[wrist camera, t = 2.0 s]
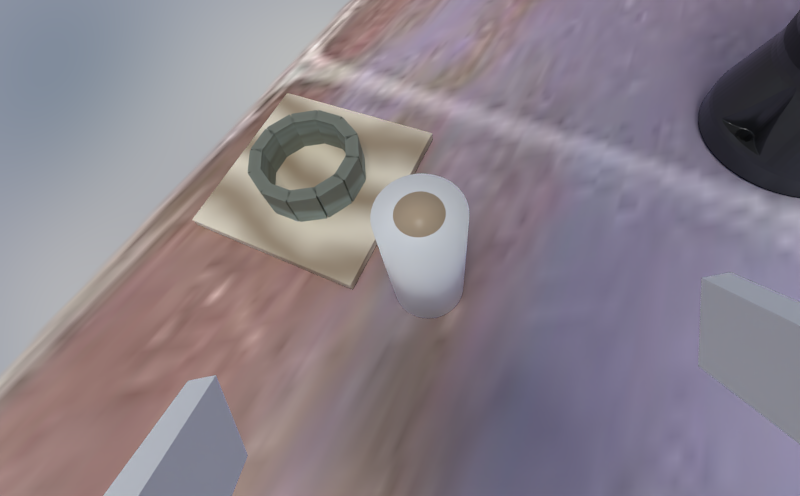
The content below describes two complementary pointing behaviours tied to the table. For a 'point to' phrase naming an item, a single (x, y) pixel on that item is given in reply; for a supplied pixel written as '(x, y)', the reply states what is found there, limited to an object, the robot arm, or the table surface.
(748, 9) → the table surface
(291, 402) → the table surface
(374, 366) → the table surface
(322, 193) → the roll holder
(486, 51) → the table surface
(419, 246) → the paper roll
